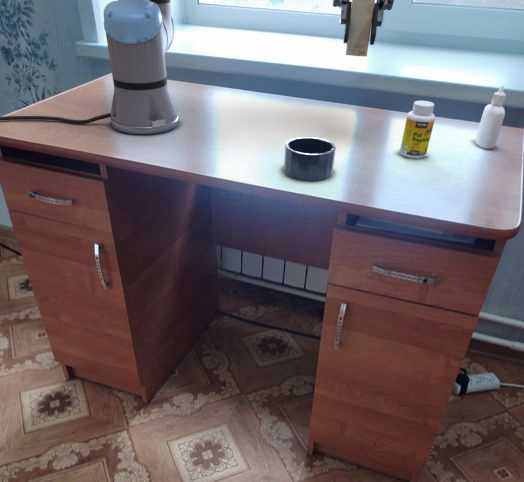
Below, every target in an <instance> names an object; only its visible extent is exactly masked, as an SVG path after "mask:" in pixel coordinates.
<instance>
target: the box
mask: <svg viewBox="0 0 524 482" xmlns="http://www.w3.org/2000/svg"><path fill="white" fill-rule="evenodd" d="M351 2H352V6H351V17H350V27H349V36H348V42H347V43H346V48H345V55H346V56H351V57H367V56H368V49H369V45H370V36H371V25H372V17H373V10H374V5H375V0H351Z"/></svg>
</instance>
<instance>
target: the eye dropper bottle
mask: <svg viewBox="0 0 524 482" xmlns="http://www.w3.org/2000/svg"><path fill="white" fill-rule="evenodd" d="M506 97H507V93H506V92H505V86H503V85H501V86H500V87H499V89H498V91H495V92H494V93H493V96H492V98H491V102H490V103H488V104H487V105H485V107H484V109H483V112H482V115H481V119H480V122H479V125H478V129H477V131H476V132H477V133H476V135H475V138H474V142H475V144H476V145H477V146H478V147H479V148H482V149H485V150H491V149H492V150H493V149H495V146H496V144H497V140H498V137H499V134H500V132H501V129H502V125H503V122H504V119H505V117H506V116H505V115H506V110H505V107H504V106H503V105H504V103H505V99H506Z"/></svg>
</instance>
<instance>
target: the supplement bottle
mask: <svg viewBox="0 0 524 482" xmlns="http://www.w3.org/2000/svg"><path fill="white" fill-rule="evenodd" d="M434 108H435V103H434V102H432V101H428V100H415V101H414V102H413V106H412V110H410V111H408V112H407V115H406V120H405V124H404V130H403V134H402V139H401V142H400V148H399V153H400V154H401V156H403V157H405V158H409V159H421V158H424V157H425V156H426V155H427V153H428V149H429V145H430V144H429V143H430V140H431V136H432V132H433V129H434V124H435V121H436V116H435V114H434V113H433V112H434Z"/></svg>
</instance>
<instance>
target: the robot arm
mask: <svg viewBox="0 0 524 482" xmlns="http://www.w3.org/2000/svg"><path fill="white" fill-rule="evenodd" d="M331 1H332V2H331V5H332V7H334V8H337V7H338V8H339V9H340V14H339V24H340V25H344V32H343V33H344V34H343V42H342V43H343V44H347V42H348V36H349V27H350V17H351V7H352V1H351V0H331ZM394 2H395V0H375V3H374V10H373V17H372V24H371V30H370V37H369V45H370V46H374V45H375V41H376V38H377V28H378V27H382V25H383V21H384V14H385V13H384V12H385V10H387V11H391V10H392V9H393V6H394ZM103 27H104V29H103V30H104V31H105V36H106V43H107V50H108V57H109V63H110V70H111V76H112V83H113V95H112V101H111V109H110V112H109V113H105V114H101V115H96V116H93V117H90V118H88V119H87V118H86V119H72V118H67V117H66V118H65V117H59V116H47V115H8V116H7V115H6V116H0V121H17V120H18V121H21V120H22V121H24V120H31V121H32V120H33V121H35V120H36V121H54V122H55V121H56V122H63V123H67V124H74V125H75V124H76V125H83V124H84V125H86V124H91V123H94V122H97V121H100V120H105V119H108V118H110V123H111V124H110V125H111V127H112V128H113V129H114V130H116V131H118V132H120V133H125V134H131V135H154V134H155V135H156V134H160V133H165V132H168V131H171V130H173V129H175V128H177V127H178V125H179V115H178V111H177V109H176V107H175V104H174V101H173V98H172V96H171V93H170V90H169V87H168V77H167V67H166V66H167V64H166V53H167V52H168V51H169V49H170V48H171V46H172V43H173V40H174V36H175V24H174V19H173V17H172V8H171V0H112V1H110V2H109V3H107V4H106V5H105V6H104V9H103Z"/></svg>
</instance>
